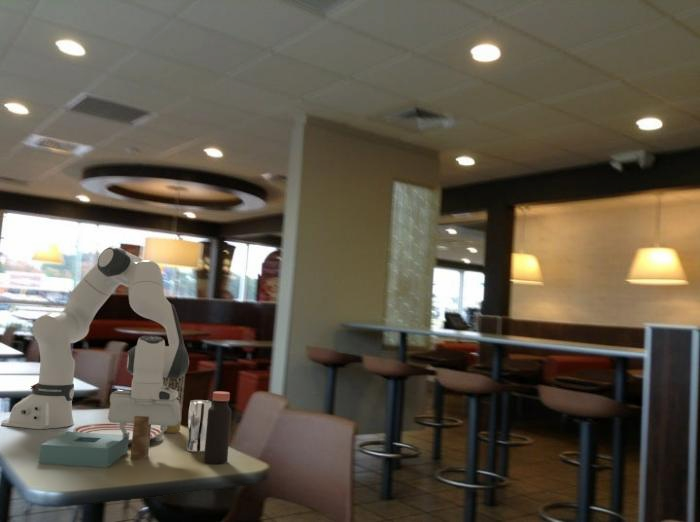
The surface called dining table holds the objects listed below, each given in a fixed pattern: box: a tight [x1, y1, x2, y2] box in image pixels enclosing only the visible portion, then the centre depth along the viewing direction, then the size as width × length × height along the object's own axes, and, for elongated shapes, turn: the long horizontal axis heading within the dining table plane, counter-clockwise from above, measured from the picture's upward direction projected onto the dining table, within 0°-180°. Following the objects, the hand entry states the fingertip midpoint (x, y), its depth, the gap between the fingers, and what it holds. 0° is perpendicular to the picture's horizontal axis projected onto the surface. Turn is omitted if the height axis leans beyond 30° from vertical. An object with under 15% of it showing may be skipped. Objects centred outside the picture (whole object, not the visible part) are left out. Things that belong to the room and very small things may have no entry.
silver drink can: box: [186, 399, 212, 453], centre depth 193 cm, size 7×7×15 cm
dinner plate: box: [72, 422, 161, 446], centre depth 200 cm, size 28×27×3 cm
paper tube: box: [159, 373, 186, 434], centre depth 217 cm, size 7×7×25 cm
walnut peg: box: [130, 416, 152, 460], centre depth 179 cm, size 4×4×12 cm
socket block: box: [38, 431, 129, 468], centre depth 174 cm, size 18×18×5 cm
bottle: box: [203, 390, 233, 465], centre depth 180 cm, size 7×7×20 cm
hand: (142, 439), depth 179 cm, fingers open, 8 cm apart
